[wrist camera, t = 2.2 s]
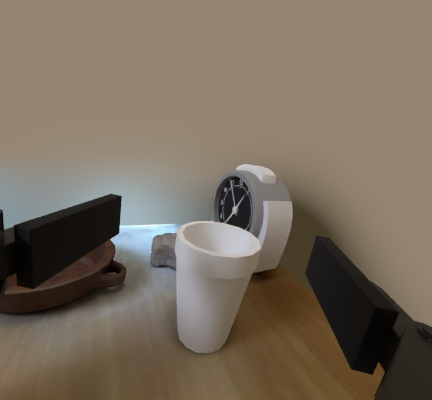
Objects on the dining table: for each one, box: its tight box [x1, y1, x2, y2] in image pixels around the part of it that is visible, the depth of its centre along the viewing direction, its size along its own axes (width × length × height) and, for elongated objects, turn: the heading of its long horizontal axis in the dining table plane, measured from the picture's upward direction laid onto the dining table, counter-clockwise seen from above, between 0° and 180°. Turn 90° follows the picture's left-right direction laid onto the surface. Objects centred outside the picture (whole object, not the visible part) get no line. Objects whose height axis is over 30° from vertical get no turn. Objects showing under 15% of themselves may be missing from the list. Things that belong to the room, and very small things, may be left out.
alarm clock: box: [212, 164, 293, 274], centre depth 45 cm, size 18×8×20 cm, turn 29°
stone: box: [151, 233, 177, 269], centre depth 41 cm, size 8×10×6 cm
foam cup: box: [174, 221, 261, 354], centre depth 27 cm, size 10×9×13 cm
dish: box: [0, 240, 126, 313], centre depth 32 cm, size 18×22×5 cm
